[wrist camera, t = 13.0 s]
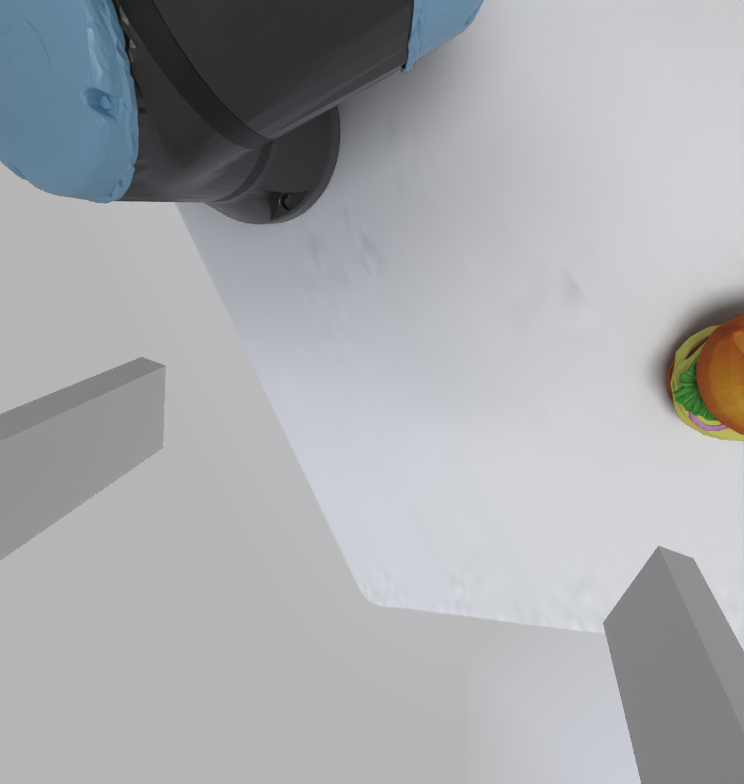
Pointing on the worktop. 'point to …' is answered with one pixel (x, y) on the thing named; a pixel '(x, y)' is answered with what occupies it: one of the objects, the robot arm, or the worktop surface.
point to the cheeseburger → (711, 380)
